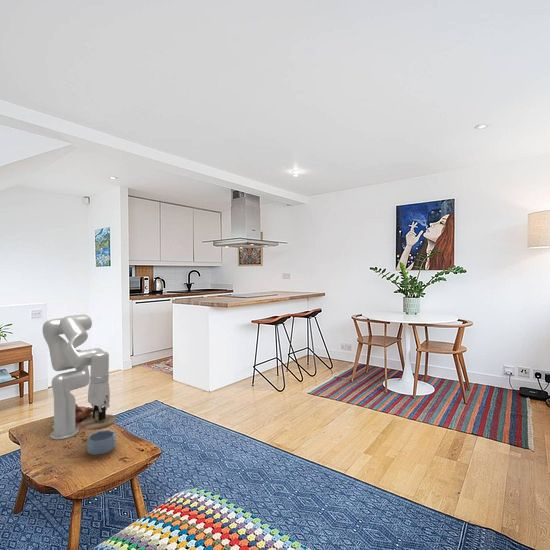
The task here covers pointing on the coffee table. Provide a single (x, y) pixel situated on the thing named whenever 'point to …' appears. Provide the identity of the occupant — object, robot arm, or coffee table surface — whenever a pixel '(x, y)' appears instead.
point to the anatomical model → (81, 412)
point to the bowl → (101, 442)
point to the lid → (98, 422)
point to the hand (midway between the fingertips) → (99, 418)
